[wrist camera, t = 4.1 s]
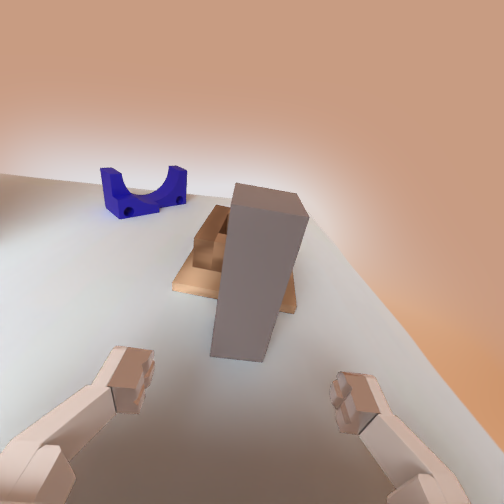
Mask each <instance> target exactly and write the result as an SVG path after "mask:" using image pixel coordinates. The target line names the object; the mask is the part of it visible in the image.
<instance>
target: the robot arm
mask: <svg viewBox="0 0 504 504" xmlns="http://www.w3.org/2000/svg"><path fill="white" fill-rule="evenodd" d="M153 358H154V350H147V349H139V348H131V347H124V346H115V347H114V348H113V349H112V351H111V352H110V354H109V356H108V357H107V359H106V361H105V362H104V364H103V366H102V368H101V369H100V371H99V373H98V374H97V376H96V378H95V379H94V381H93V383H92V384H91V385H86V386H85V387H83V388H82V389H81V390H79V391H78V392H77V393H75V394H74V395H72V396H71V397H70V398H68V399H67V400H66V401H64V402H63V403H61V404H60V405H59V406H57V407H56V408H55V409H53V410H52V411H50V412H49V413H48V414H46V415H45V416H43V417H42V418H41V419H39V420H38V421H37V422H35V423H34V424H32V425H31V426H30V427H28V428H27V429H26V430H24V431H23V432H21V433H20V434H19V435H17V436H16V437H15V438H13V439H12V440H11V441H10V442H9V443H8V445H7V446H6V447H5V449H4V450H3V451H2V453H1V454H0V504H65V502H66V500H67V498H68V496H69V494H70V491H71V489H72V487H73V485H74V483H75V481H76V477H75V474H74V472H73V470H72V468H71V466H70V464H69V463H68V462H69V461H70V460H71V459H72V458H73V457H74V456H75V455H76V454H77V453H78V452H79V451H80V450H81V449H82V448H83V447H84V446H85V445H86V444H87V443H88V442H89V441H90V440H91V439H92V438H93V437H94V436H95V435H96V434H97V433H98V432H99V431H100V430H101V429H102V428H103V427H104V426H105V425H106V424H107V423H108V422H109V421H110V420H111V419H112V418H113V417H114V416H115V415H116V413H124V414H139V413H140V410H141V407H142V405H143V402H144V399H145V397H146V396H145V389H146V388H147V387H149V386H150V383H151V381H152V378H153V374H154V369H155V362H154V361H153ZM330 399H331V402H332V405H333V406H334V407H335V408H336V410H337V411H336V414H335V417H336V421H337V425H338V428H339V432H340V433H347V434H355V435H359V438H360V439H361V440H362V442H363V443H364V445H365V446H366V447H367V449H368V450H369V452H370V453H371V455H372V456H373V457H374V459H375V460H376V462H377V463H378V464H379V466H380V467H381V469H382V470H383V472H384V473H385V474H386V476H387V477H388V479H389V480H390V481H391V483H392V484H393V486H394V487H395V489H396V490H395V491H393V492H392V493H390V494H389V495H388V496H387V498H386V500H387V503H388V504H471V503H470V501H469V499H468V497H467V496H466V494H465V492H464V490H463V488H462V487H461V485H460V483H459V481H458V479H457V478H456V476H455V475H454V474H453V473H452V472H451V470H450V469H449V468H448V467H447V466H446V465H445V464H444V463H443V462H442V461H441V460H440V459H439V458H438V457H437V456H436V455H435V454H434V453H433V452H432V451H431V450H430V449H429V448H428V447H427V446H426V445H425V444H424V443H423V442H422V441H421V440H420V439H419V438H418V437H417V436H416V435H415V434H414V433H413V432H412V431H411V430H410V429H409V428H408V427H407V426H406V425H405V424H404V423H403V422H402V421H401V420H400V419H399V418H398V417H397V416H394V415H393V414H392V411H391V409H390V407H389V405H388V403H387V401H386V399H385V396H384V394H383V392H382V390H381V388H380V386H379V384H378V382H377V379H376V378H375V377H374V376H373V375H367V374H361V373H350V372H339V373H338V374H337V380H335V381H333V382H332V384H331V386H330Z"/></svg>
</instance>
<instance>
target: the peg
mask: <svg viewBox="0 0 504 504" xmlns="http://www.w3.org/2000/svg"><path fill="white" fill-rule="evenodd" d="M308 220H309V216H308V214H307V212H306V210H305V208H304V207H303V205H302V203H301V201H300V199H299V197H298V195H297V194H296V193H290V192H285V191H279V190H273V189H268V188H262V187H257V186H251V185H245V184H240V183H236V184H235V189H234V193H233V198H232V202H231V208H230V215H229V222H228V229H227V237H226V244H225V251H224V258H223V265H222V273H221V280H220V287H219V294H218V301H217V309H216V316H215V323H214V330H213V338H212V345H211V352H210V357H218V358H227V359H237V360H246V361H255V362H263V359H264V356H265V353H266V350H267V347H268V344H269V341H270V338H271V334H272V331H273V328H274V325H275V322H276V319H277V316H278V313H279V310H280V307H281V304H282V300H283V297H284V294H285V291H286V288H287V285H288V282H289V279H290V276H291V273H292V270H293V266H294V263H295V260H296V257H297V254H298V251H299V248H300V245H301V242H302V239H303V236H304V232H305V229H306V226H307V223H308Z"/></svg>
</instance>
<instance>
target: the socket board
mask: <svg viewBox="0 0 504 504" xmlns="http://www.w3.org/2000/svg"><path fill="white" fill-rule="evenodd" d="M229 215H230V207H225V206H220V205H216V206H215V207H214V209H213V210H212V212H211V213H210V215H209V216H208V218H207V219H206V221H205V222H204V224H203V225H202V227H201V228H200V230H199V231H198V233H197V234H196V236H195V237H194V248H193V250H192V251H191V253H190V255H189V256H188V258H187V259H186V261H185V263H184V264H183V266H182V268H181V269H180V271H179V272H178V274H177V276H176V277H175V279H174V281H173V282H172V290H173V291H178V292H183V293H188V294H194V295H199V296H204V297H209V298H214V299H218V294H219V287H220V280H221V273H222V265H223V258H224V251H225V244H226V237H227V229H228V222H229ZM296 307H297V306H296V297H295V288H294V279H293V270H292V273H291V276H290V279H289V282H288V285H287V288H286V291H285V294H284V297H283V300H282V304H281V307H280V310H279V311H281V312H286V313H291V314H294V312H295V309H296Z"/></svg>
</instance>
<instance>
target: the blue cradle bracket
mask: <svg viewBox="0 0 504 504" xmlns="http://www.w3.org/2000/svg"><path fill="white" fill-rule="evenodd" d="M100 171H101V178H102V185H103V192H104V199H105V206H106V208H107V209H108V210H109V211H110V212H111V213H113V214H114V215H115V216H116V217H117V218H119V219H125V218H130V217H136V216H141V215H147V214H153V213H158V212H159V208H162V207H169V206H175V205H181V204H186V186H187V170H185V169H183V168H181V167H178V166H169V170H168V175H167V178H166V180H165V182H164V183H163V185H162V186H161V187H160V188H159V189H157V190H156V191H154V192H152V193H150V194H146V195H136V194H132V193H130V192H129V191H128V189H127V188H126V186H125V184H124V182H123V178H122V174H121V173H120V172H118V171H117V170H115V169H113V168H100Z"/></svg>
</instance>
